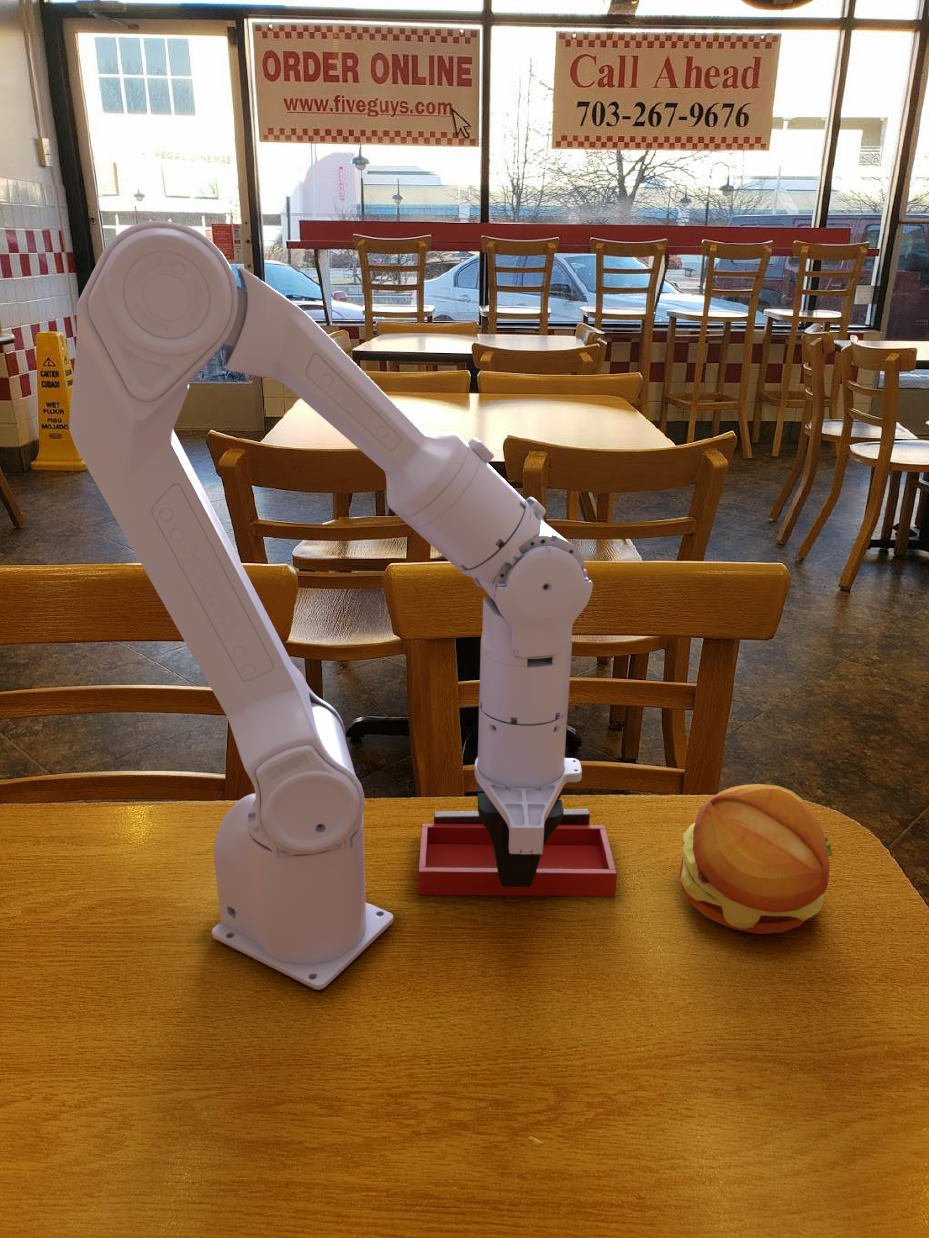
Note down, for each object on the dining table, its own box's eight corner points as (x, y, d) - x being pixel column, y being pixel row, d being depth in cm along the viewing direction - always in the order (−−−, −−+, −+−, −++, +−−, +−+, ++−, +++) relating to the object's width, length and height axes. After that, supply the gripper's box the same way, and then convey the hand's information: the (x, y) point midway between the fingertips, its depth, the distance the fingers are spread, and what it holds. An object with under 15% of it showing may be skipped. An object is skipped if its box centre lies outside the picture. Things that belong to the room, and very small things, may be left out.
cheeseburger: (801, 853, 72) (832, 758, 66) (832, 977, 63) (870, 880, 57) (667, 842, 72) (685, 747, 67) (679, 964, 64) (701, 866, 58)
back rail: (588, 841, 73) (590, 814, 72) (434, 844, 72) (434, 816, 71) (586, 835, 74) (588, 808, 73) (433, 838, 73) (433, 811, 72)
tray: (615, 896, 67) (617, 873, 66) (418, 895, 67) (418, 871, 66) (603, 847, 72) (605, 825, 72) (421, 845, 72) (421, 823, 72)
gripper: (600, 762, 54) (585, 953, 59) (573, 660, 67) (563, 822, 72) (477, 760, 54) (472, 951, 59) (475, 659, 67) (471, 821, 72)
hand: (515, 880), depth 65 cm, fingers closed
